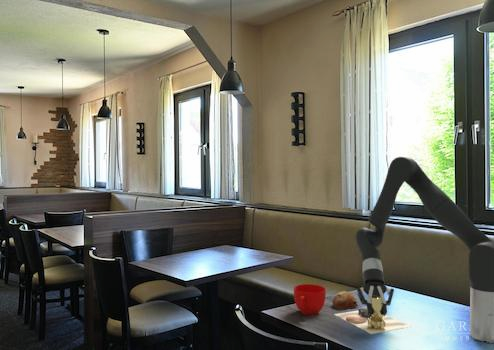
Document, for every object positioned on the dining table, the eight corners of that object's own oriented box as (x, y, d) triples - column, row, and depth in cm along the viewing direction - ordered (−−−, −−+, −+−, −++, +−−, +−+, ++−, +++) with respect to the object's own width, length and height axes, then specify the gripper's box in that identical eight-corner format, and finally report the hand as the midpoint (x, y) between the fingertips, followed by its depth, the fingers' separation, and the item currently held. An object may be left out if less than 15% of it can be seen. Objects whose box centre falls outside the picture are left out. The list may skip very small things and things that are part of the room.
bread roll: (343, 310, 192) (336, 292, 194) (363, 304, 186) (356, 286, 188) (332, 316, 185) (325, 297, 187) (353, 310, 179) (345, 291, 181)
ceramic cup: (284, 317, 171) (284, 292, 171) (300, 305, 186) (300, 282, 186) (316, 323, 165) (316, 297, 165) (329, 310, 180) (330, 286, 180)
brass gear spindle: (389, 327, 156) (389, 299, 156) (375, 329, 154) (375, 301, 153) (377, 321, 162) (377, 294, 162) (364, 323, 159) (364, 296, 159)
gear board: (410, 330, 158) (411, 317, 158) (371, 338, 151) (371, 324, 151) (370, 312, 179) (370, 300, 178) (334, 318, 171) (334, 305, 171)
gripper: (354, 267, 166) (358, 309, 154) (393, 268, 164) (399, 310, 152) (353, 277, 171) (356, 318, 159) (390, 278, 169) (396, 320, 157)
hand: (377, 314), depth 156 cm, fingers closed on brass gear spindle, 4 cm apart
